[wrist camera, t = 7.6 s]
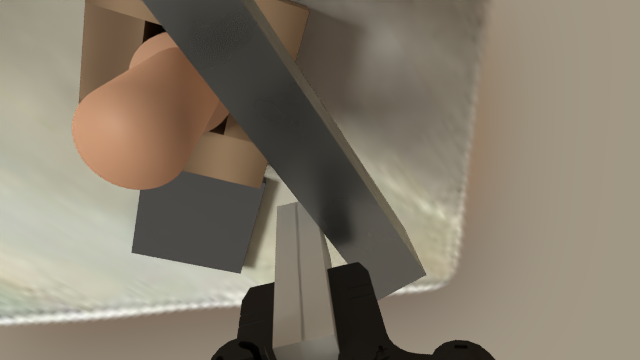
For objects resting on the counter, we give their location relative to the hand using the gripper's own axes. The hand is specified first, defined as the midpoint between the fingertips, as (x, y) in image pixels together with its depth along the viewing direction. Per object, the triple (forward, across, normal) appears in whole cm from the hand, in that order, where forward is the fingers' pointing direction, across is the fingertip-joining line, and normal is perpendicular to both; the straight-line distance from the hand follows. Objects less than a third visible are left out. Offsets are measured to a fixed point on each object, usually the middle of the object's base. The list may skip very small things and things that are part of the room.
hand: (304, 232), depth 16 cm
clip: (+1, 0, +6) cm, 6 cm away
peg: (+17, -6, +5) cm, 18 cm away
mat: (+17, -10, -6) cm, 20 cm away
